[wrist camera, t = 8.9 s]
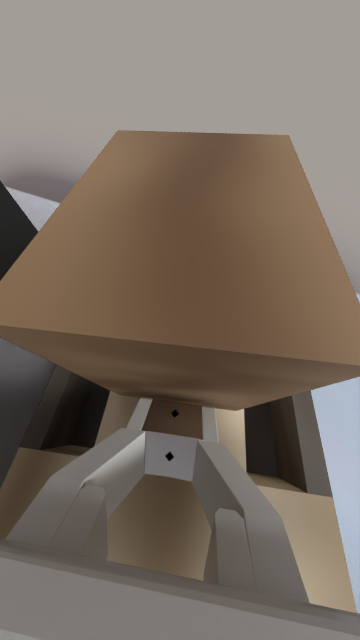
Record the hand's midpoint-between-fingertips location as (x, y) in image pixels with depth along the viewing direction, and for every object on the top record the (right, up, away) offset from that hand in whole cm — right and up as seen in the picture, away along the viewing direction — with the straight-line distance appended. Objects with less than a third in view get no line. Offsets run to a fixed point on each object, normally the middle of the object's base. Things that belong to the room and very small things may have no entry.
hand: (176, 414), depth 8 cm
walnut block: (+1, +3, +4) cm, 5 cm away
